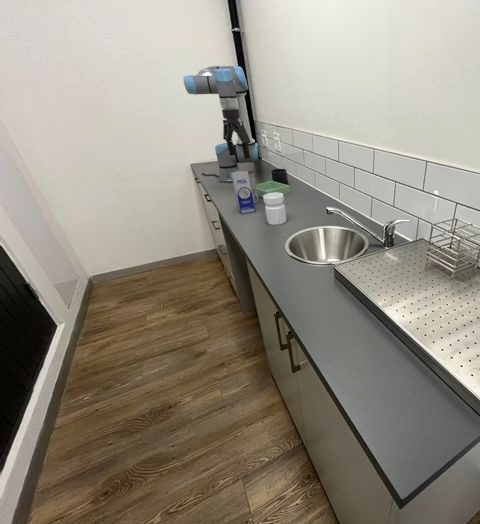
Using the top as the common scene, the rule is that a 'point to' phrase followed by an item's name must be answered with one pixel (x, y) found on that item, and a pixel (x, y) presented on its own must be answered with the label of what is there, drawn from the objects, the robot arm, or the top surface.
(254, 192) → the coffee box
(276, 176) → the mug
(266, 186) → the bin
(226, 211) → the top surface
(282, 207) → the white pill bottle
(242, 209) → the milk carton
